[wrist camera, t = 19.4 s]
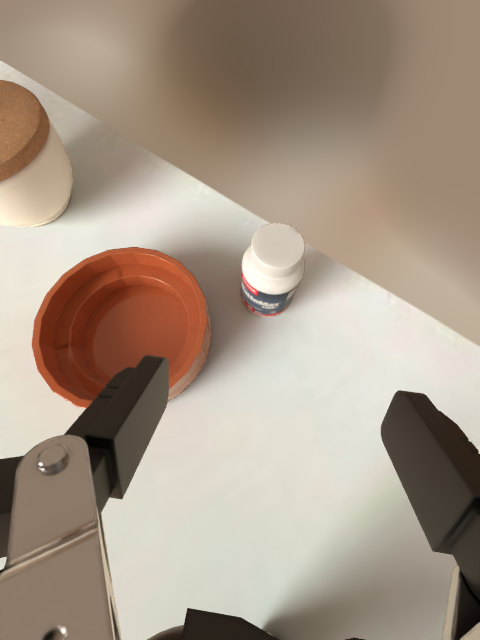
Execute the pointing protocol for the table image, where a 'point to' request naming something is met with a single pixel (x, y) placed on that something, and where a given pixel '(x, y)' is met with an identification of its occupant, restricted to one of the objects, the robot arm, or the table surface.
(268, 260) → the pill bottle
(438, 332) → the table surface
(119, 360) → the terracotta bowl
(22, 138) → the lidded bowl
